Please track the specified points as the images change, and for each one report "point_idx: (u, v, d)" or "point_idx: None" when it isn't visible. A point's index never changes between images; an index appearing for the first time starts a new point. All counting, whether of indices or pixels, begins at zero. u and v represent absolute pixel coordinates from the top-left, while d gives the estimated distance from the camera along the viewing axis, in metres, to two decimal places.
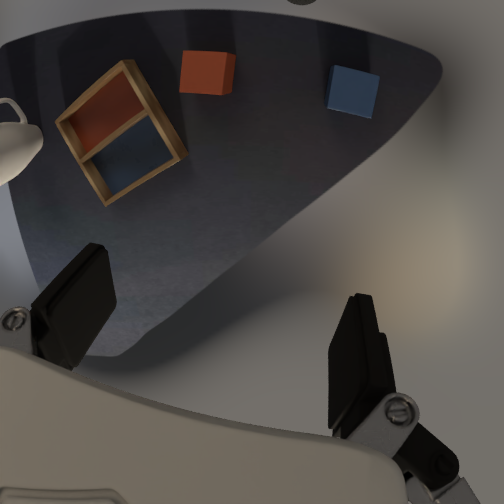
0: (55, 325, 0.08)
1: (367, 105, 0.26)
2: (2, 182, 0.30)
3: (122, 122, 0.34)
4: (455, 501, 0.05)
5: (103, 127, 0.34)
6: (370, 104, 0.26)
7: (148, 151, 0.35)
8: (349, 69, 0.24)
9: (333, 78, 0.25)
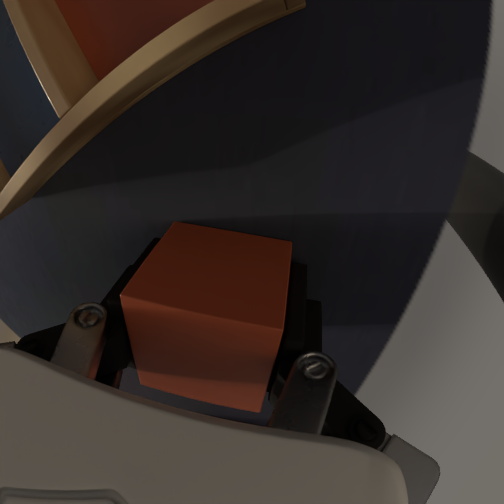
0: None
1: None
2: None
3: None
4: (395, 460, 0.06)
5: None
6: None
7: (6, 101, 0.09)
8: None
9: None
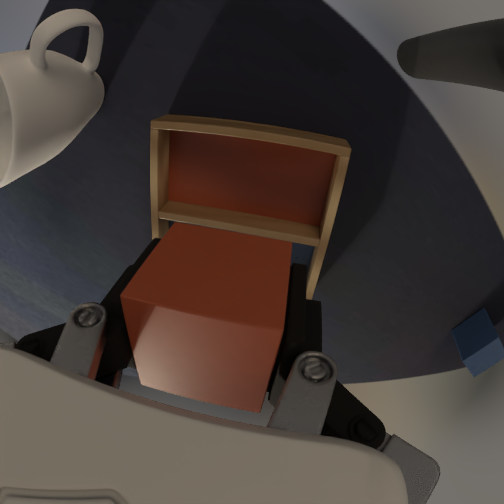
0: None
1: (482, 369, 0.24)
2: None
3: (260, 208, 0.23)
4: (395, 460, 0.06)
5: (224, 189, 0.23)
6: (483, 369, 0.24)
7: None
8: (500, 344, 0.22)
9: (487, 345, 0.22)
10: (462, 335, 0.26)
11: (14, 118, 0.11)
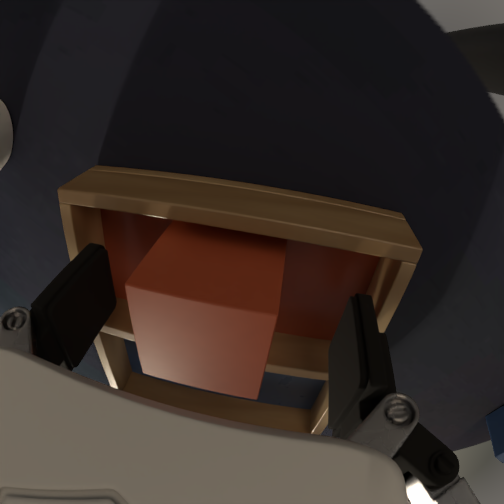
0: (55, 325, 0.08)
1: None
2: None
3: None
4: (456, 501, 0.05)
5: None
6: None
7: None
8: None
9: None
10: (498, 424, 0.17)
11: None
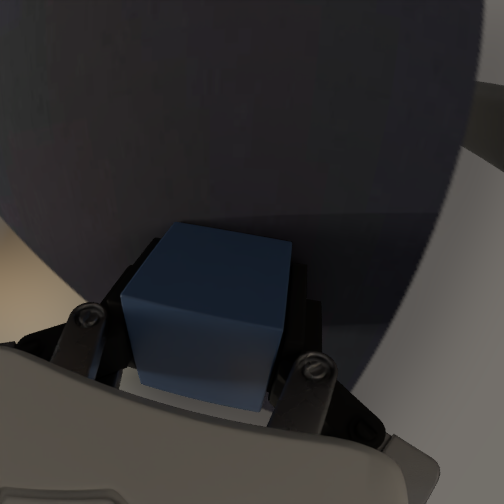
0: None
1: (170, 384, 0.10)
2: None
3: None
4: (395, 460, 0.06)
5: None
6: (174, 388, 0.10)
7: None
8: (269, 363, 0.08)
9: (227, 323, 0.08)
10: (185, 246, 0.10)
11: None
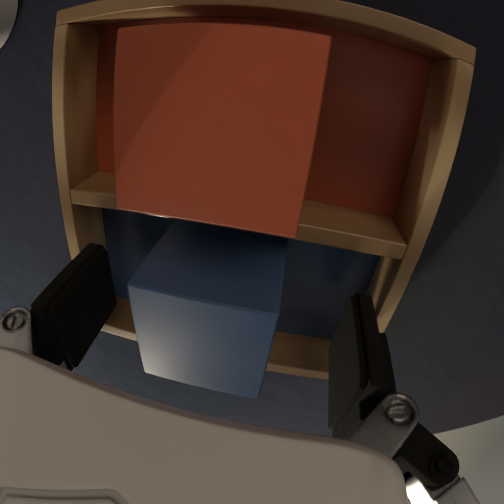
0: (55, 325, 0.08)
1: (172, 371, 0.10)
2: None
3: None
4: (455, 501, 0.05)
5: None
6: (176, 376, 0.11)
7: (283, 295, 0.14)
8: (266, 348, 0.09)
9: (227, 309, 0.08)
10: (187, 239, 0.11)
11: None
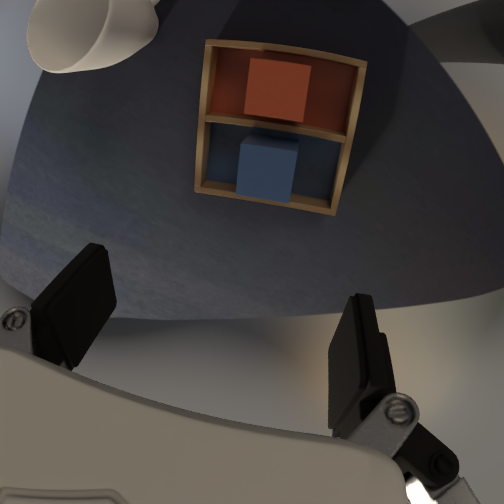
0: (55, 325, 0.08)
1: (251, 190, 0.25)
2: (77, 70, 0.17)
3: None
4: (456, 501, 0.05)
5: None
6: (252, 192, 0.25)
7: (297, 171, 0.28)
8: (293, 169, 0.24)
9: (279, 150, 0.23)
10: (258, 137, 0.26)
11: (110, 5, 0.13)
